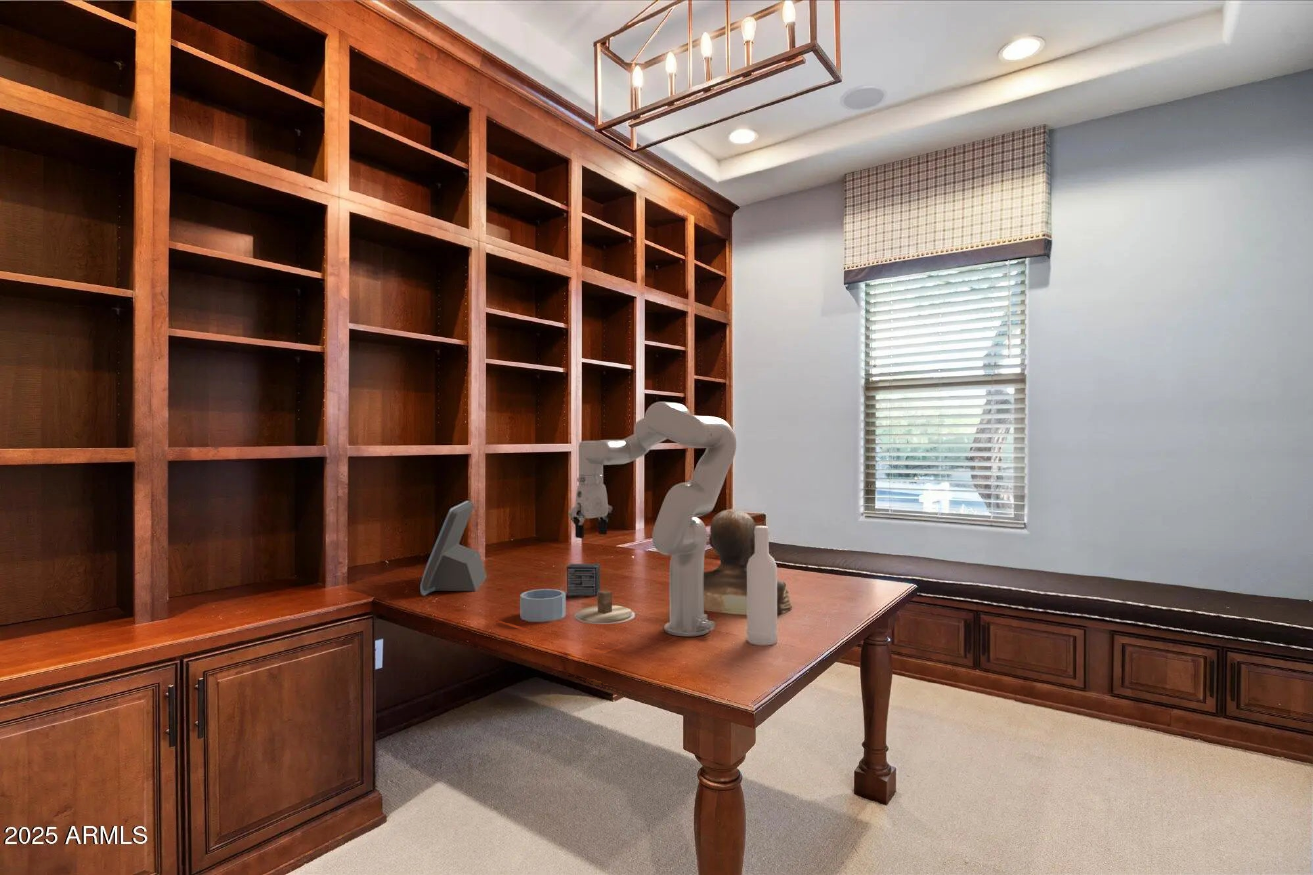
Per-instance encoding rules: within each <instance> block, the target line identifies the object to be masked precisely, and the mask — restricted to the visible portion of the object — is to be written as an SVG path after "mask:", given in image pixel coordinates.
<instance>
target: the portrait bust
mask: <svg viewBox="0 0 1313 875" xmlns="http://www.w3.org/2000/svg"><path fill="white" fill-rule="evenodd" d="M755 527H756V522H755V521H754V519H753V518H752V517H751V516H750V515H749V514H748V513H747V512H745V511H742V510H739V509H735V508H729V509H726V510H725V509H724V510H722V511H720V512H718V513H717V514H716V515H714V516H713V518H712V520H711V522H710V526H709V532H710V535H709V537H708V538H709V540H708V541H709V545H710V547H711V548H712V549H713V550H714V551H715V552H716V553H717V554H718V557H719V558H720V559H719V560H720V561H719V562H720V564H719V565H718V567H717V568H715V569H713V570H709V571H704V612H705V611H706V612H713V613H719V614H720V613H723V614H731V615H744V616H747V564H748V561H749V558H750V557H751V556H752V555H753V554H754V553H755V534H754V531H755ZM791 608H793V604H792V600H791V596H790V593H789V591H788V586H787V584H786V582H784V581H778V580H777V614H779V615H782V613H783V614H785V613H784V612H786V613H788V612H789V611H791V610H792V609H791ZM790 609H791V610H790ZM788 610H789V611H788ZM787 611H788V612H787Z"/></svg>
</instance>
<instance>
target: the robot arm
mask: <svg viewBox="0 0 1313 875" xmlns="http://www.w3.org/2000/svg"><path fill="white" fill-rule="evenodd" d="M633 432H634V433H633V434H631V435H630V436H627V437H626V438H623V439H601V440H582V441H580V442H579V443H578V477H577V479H576V481H577V482H578V485H577V486H576V487H577V489H576V495H575V506H573V507H572V508H571V509H570V510H568V515H569V517H570V520H571V521H572V522H573V525H575V526H574V528H575V529H574V530H575V532H574V534H575V535H574V536H575V539H576V538H578V539H584V538H585V526H584V524H583V523H584V522H585V520H586V519H594V518H595V519H596V518H598V519H599V520H598V523H597V524H598V525H597V526H598V527H597V528H598V534H599V535H605V536H606V535H607V534H608V527H607V526H608V522H609V518H610V517H611V514H612V510H613V506H611V505H610V504H608V501H609V500H608V493H607V488H606V485H605V484H604V466H607V465H608V466H611V465H625V464H627V463H631V462H633V461H634V460H637V459H638V458H639V459H640V458H641V457H643V456H645V455H646V454H647V453H649V451H651V449H652V447H654V446H656V445H658V444H660V443H662V442H664V441H666V440H670V441H673V442H674V443H677V444H679V445H681V446H684V447H687V448H694V449H696V448H697V449H698V448H703V449H704V448H706V449H705V451H704V453H703V455H702V456H700V458H699V460H698V462H697V464H696V465H695V466H696V467H695V468H694V471H693V474H692V475H691V478H690V479H689V481H687V482H686V481H685V482H680V483H678V484H675V485H673V486H672V487H671V488H670V489H669V490H668V492H667V493H666V495H665V497H664V499H663V501H662V504H661V507H660V509H659V512H658V515H657V517H656V520H655V524H654V525H653V528H652V534H651V540H652V544H653V546H654V549H655V550H656V551H657V552H659V554H661V555H664V556H671V557H670V562H669V622H666V623H665V624H664V626H663V627H664V632H665V633H667V634H668V635H672V636H676V637H677V636H678V637H699V636H703V635H706V634H708V633H709V632H710V631H713V630H714V627H715V625H716V623H715V621H714V620H713V621H712V620H708V614H706V613H705V610H704V572H705V556H706V555H705V554H706V553H705V552H706V548H707V540H708V533H707V532H708V531H707V526H706V525H705V523H704V522H703V521H702V519H700V518H699V517H702V516H705V515H708V514H710V513H711V512H712V511H713V510H714V508H715V505H716V503H717V500H718V497H719V495H720V493H721V490H722V488H723V485H724V482H725V479H726V477H727V474H728V472H729V470H730V467H731V466H732V463H733V460H734V458H735V455H736V451H737V438H736V434H735V432H734V429H733V428H732V426H731V425H730V424H729V423H728V422H727V421H726V420H724V418H723V419H722V418H720V417H716V416H712V415H710V416H709V415H693V414H691V412H690V410H689V408H687V407H686V406H685V405H684V404H682V403H678V402H671V401H656V402H654V403H652V404H651V405H650V406H648V408H647V410H646V411H645V415H644V417H643V418H641V419H639V420H637V421H636V422H635V424H634V425H633Z"/></svg>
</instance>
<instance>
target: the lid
mask: <svg viewBox="0 0 1313 875" xmlns="http://www.w3.org/2000/svg"><path fill="white" fill-rule="evenodd" d="M632 612H633V611H632V609H630V608H628V607H625V606H622V605H615V604H614V605H613V591H610V590H600V592H598V596H597V605H593V606H587V607H584V608H581V609H579V610H578V611H577V613H578V618H579V619H581V620H583V621H587V622H594V623H611V622H618V621H623V620H626V619H628V618H630V617H631V616H632Z"/></svg>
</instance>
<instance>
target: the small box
mask: <svg viewBox="0 0 1313 875" xmlns="http://www.w3.org/2000/svg"><path fill="white" fill-rule="evenodd" d="M600 591H601V564H600V563H570V564H568V565H567V566H566V598H580V597H598V592H600Z"/></svg>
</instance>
